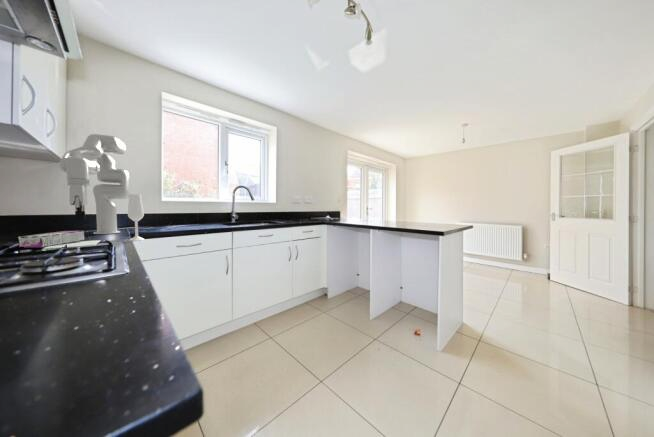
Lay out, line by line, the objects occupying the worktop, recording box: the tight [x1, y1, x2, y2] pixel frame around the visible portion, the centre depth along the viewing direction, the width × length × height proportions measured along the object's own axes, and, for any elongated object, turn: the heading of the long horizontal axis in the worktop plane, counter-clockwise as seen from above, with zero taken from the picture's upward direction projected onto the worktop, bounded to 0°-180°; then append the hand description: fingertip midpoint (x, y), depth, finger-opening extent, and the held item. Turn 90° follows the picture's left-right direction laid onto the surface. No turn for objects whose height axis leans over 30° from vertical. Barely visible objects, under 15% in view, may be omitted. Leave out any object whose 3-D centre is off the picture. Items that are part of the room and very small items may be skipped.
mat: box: [42, 239, 101, 250], centre depth 107 cm, size 18×15×1 cm
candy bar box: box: [17, 230, 86, 248], centre depth 106 cm, size 11×5×16 cm
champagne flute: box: [127, 193, 145, 242], centre depth 123 cm, size 7×7×24 cm
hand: (80, 219), depth 117 cm, fingers closed
